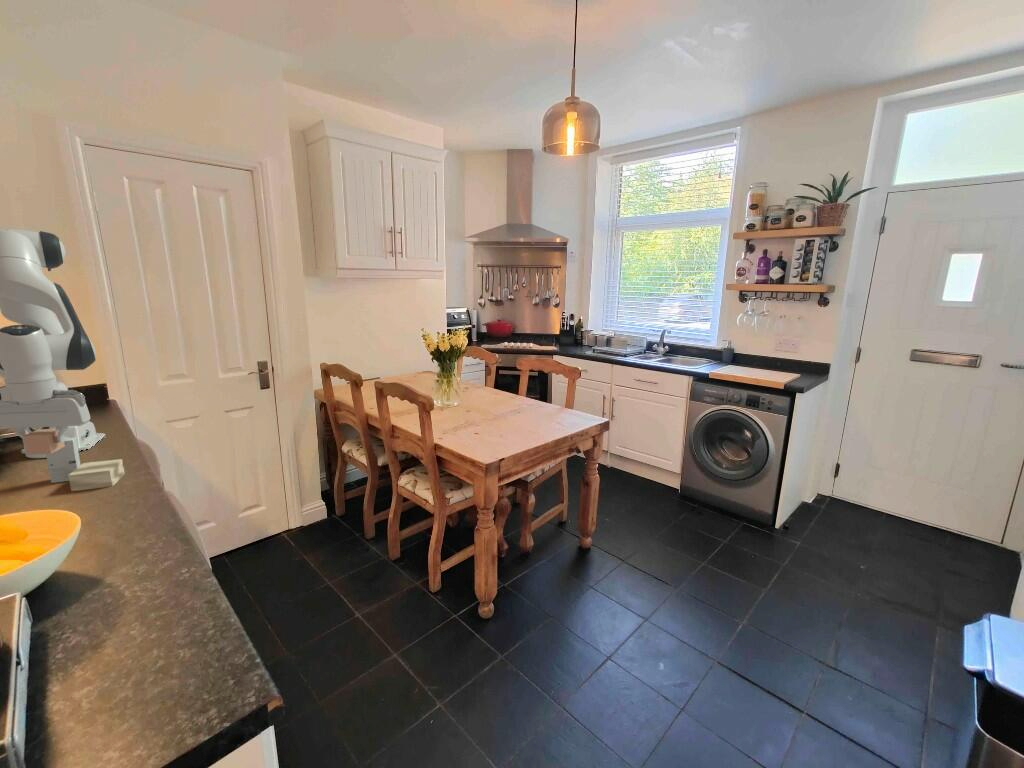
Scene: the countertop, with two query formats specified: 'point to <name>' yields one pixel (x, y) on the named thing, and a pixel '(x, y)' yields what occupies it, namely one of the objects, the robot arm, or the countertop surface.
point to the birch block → (96, 475)
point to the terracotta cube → (42, 442)
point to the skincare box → (63, 461)
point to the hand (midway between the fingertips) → (44, 442)
